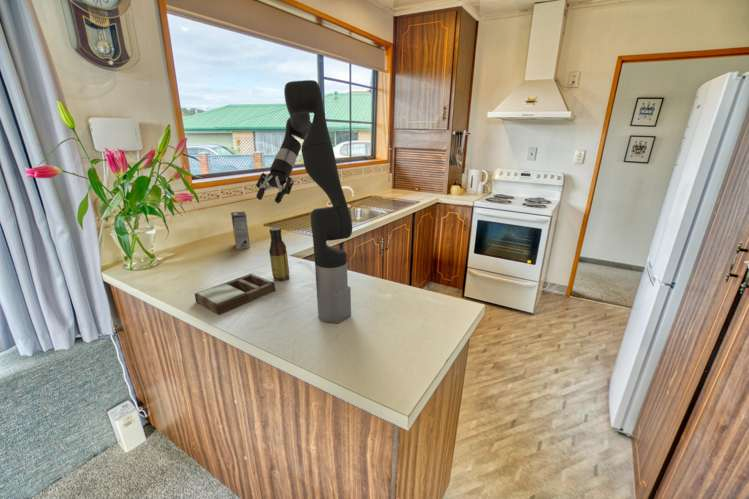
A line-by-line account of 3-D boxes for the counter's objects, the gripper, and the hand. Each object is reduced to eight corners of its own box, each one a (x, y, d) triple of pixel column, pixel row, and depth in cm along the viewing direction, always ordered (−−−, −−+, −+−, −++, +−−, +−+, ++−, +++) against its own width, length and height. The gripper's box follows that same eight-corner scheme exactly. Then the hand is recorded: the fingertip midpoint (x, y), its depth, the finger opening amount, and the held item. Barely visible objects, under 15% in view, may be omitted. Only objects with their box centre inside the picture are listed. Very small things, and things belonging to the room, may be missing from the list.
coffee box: (235, 243, 170) (230, 212, 165) (248, 242, 173) (245, 211, 167) (236, 249, 162) (231, 216, 157) (250, 247, 165) (246, 215, 159)
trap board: (275, 290, 120) (274, 282, 119) (218, 314, 104) (217, 305, 103) (251, 280, 128) (250, 272, 127) (196, 301, 112) (194, 292, 111)
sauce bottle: (282, 273, 134) (277, 225, 128) (293, 277, 131) (288, 227, 124) (268, 279, 129) (263, 228, 123) (279, 283, 126) (274, 231, 119)
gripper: (263, 155, 131) (246, 193, 126) (294, 159, 125) (277, 198, 121) (274, 166, 137) (258, 202, 133) (303, 171, 132) (288, 208, 128)
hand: (267, 200), depth 127 cm, fingers open, 8 cm apart
